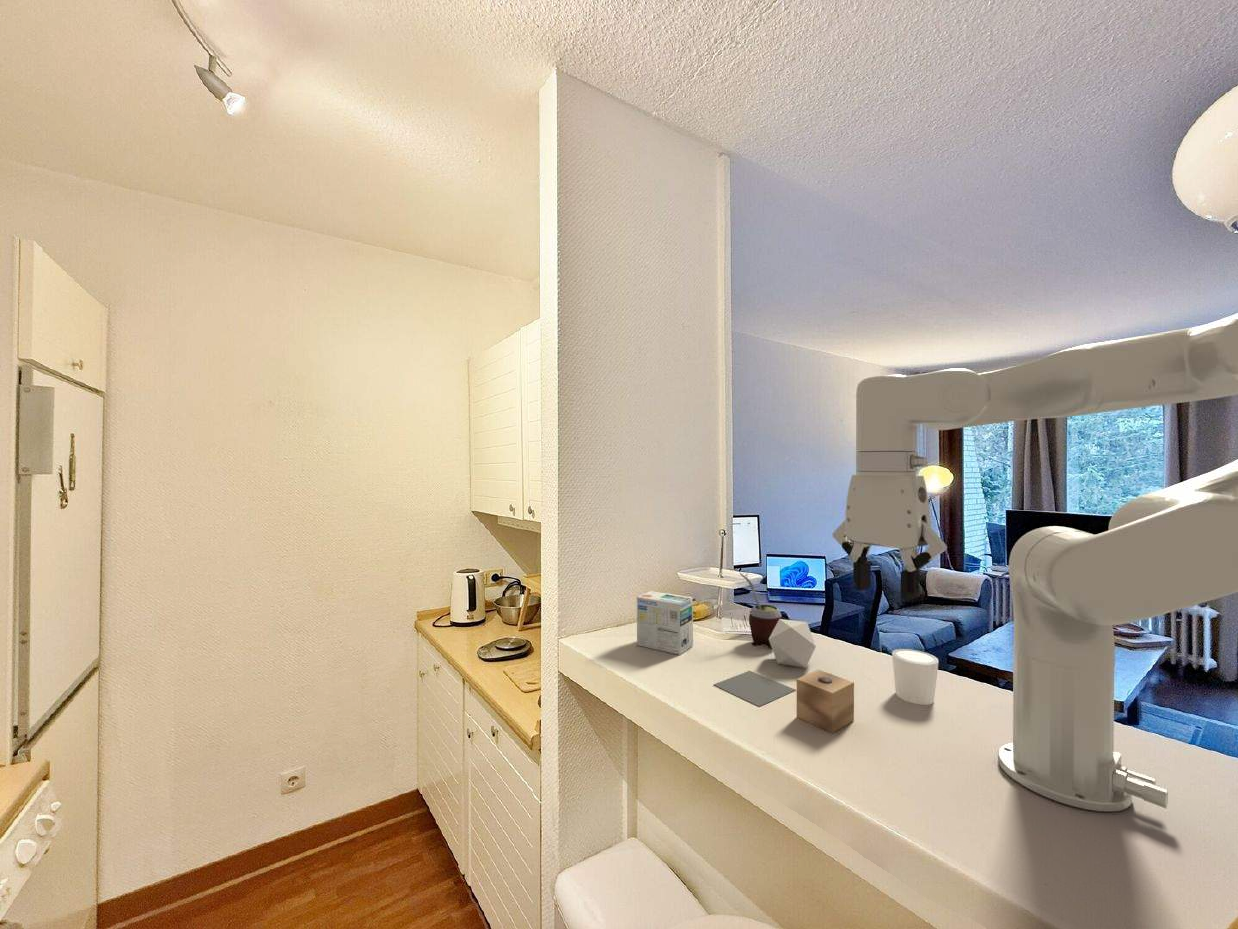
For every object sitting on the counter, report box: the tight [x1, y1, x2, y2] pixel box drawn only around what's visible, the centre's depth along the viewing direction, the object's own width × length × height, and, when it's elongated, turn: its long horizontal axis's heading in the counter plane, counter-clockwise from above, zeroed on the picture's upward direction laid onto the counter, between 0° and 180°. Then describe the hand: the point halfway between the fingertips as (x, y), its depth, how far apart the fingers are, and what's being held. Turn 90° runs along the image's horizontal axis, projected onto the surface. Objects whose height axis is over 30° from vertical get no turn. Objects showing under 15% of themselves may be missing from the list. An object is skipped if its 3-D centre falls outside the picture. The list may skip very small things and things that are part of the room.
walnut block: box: [796, 669, 855, 734], centre depth 78 cm, size 6×6×6 cm
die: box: [769, 618, 817, 669], centre depth 100 cm, size 8×9×10 cm
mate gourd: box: [739, 572, 783, 650], centre depth 111 cm, size 8×8×15 cm
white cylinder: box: [891, 648, 939, 706], centre depth 86 cm, size 7×7×7 cm
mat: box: [713, 670, 796, 708], centre depth 89 cm, size 10×10×1 cm
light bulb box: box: [636, 590, 694, 656], centre depth 109 cm, size 11×7×11 cm, turn 58°
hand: (884, 592), depth 71 cm, fingers open, 5 cm apart
